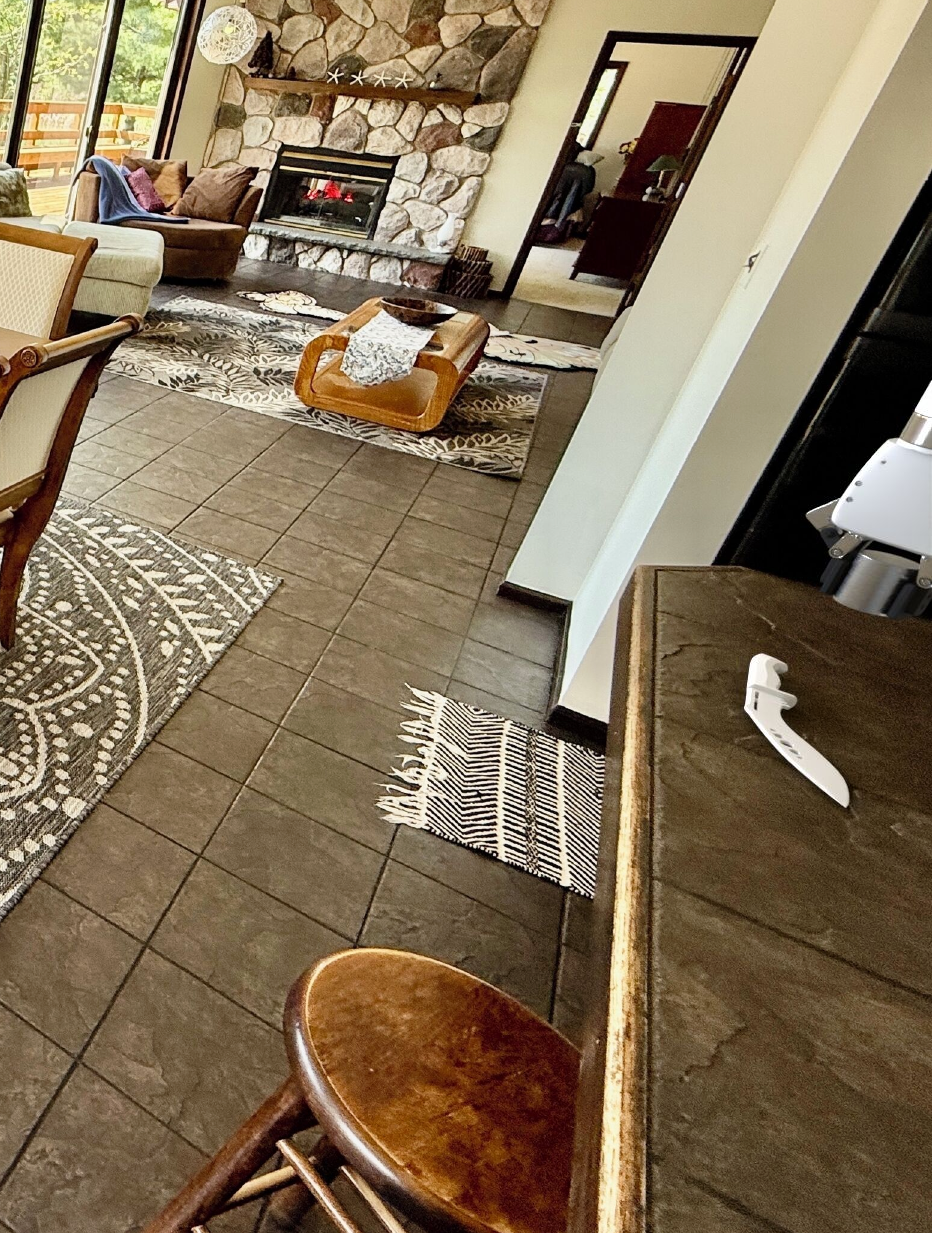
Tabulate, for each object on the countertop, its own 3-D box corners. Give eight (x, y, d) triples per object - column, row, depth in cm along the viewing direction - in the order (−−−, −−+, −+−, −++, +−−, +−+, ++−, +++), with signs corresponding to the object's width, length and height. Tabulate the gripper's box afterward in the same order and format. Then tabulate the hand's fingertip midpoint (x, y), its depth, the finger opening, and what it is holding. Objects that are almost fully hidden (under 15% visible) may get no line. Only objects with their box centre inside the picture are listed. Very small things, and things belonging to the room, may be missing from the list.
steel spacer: (904, 614, 92) (934, 567, 90) (880, 619, 91) (909, 571, 88) (846, 593, 96) (874, 548, 94) (822, 597, 94) (849, 551, 92)
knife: (854, 802, 84) (740, 758, 90) (845, 815, 85) (732, 771, 90) (848, 680, 103) (754, 649, 109) (840, 691, 104) (747, 660, 109)
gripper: (1123, 470, 80) (1004, 644, 87) (865, 411, 95) (781, 564, 102) (1081, 475, 78) (962, 653, 85) (823, 414, 92) (740, 570, 99)
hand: (864, 603), depth 93 cm, fingers closed on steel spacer, 4 cm apart
